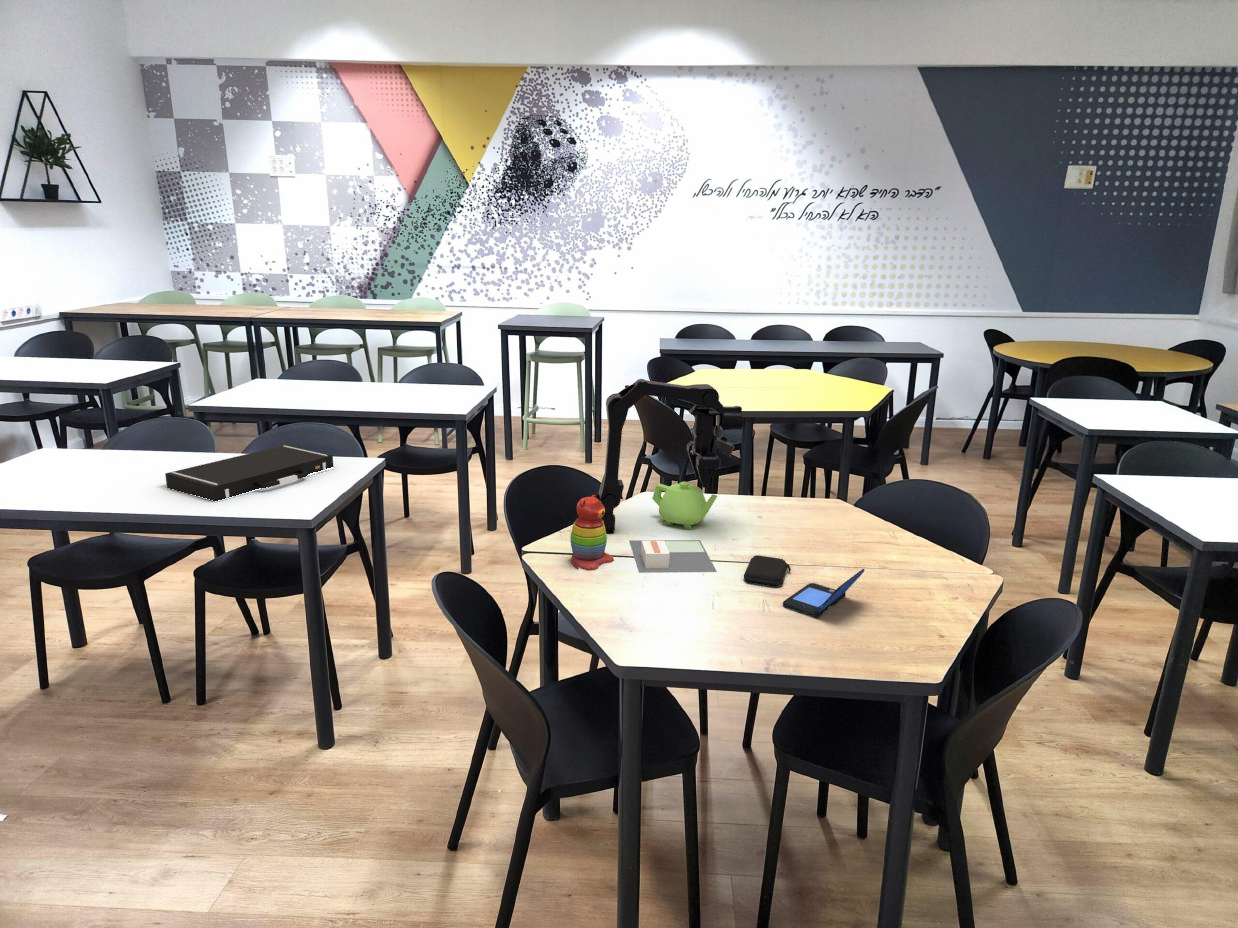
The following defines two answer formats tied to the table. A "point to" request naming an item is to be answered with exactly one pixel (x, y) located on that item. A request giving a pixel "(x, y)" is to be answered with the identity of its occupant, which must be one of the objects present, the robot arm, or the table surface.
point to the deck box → (655, 554)
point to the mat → (677, 557)
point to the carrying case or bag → (766, 571)
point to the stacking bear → (589, 535)
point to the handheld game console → (818, 597)
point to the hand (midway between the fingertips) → (701, 482)
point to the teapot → (682, 504)
